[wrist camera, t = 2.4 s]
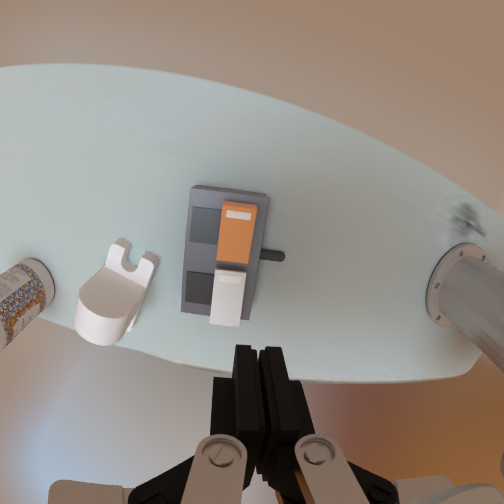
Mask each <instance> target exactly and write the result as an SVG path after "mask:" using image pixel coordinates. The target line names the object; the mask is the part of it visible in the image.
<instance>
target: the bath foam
mask: <svg viewBox="0 0 504 504" xmlns="http://www.w3.org/2000/svg"><path fill="white" fill-rule="evenodd" d="M53 297H54V284H53V281H52V278H51V276H50V274H49V272H48V270H47V269H46V268H45V267H44V266H43V265H42V264H41V263H40V262H39V261H37V260H34V259H26V260H24V261H22V262H20V263H19V264H17V265H15V266H14V267H12V268H10V269H9V270H7V271H6V272H4V273H2V274H1V275H0V351H2V350H3V349H4V348H5V347H6V346H7V345H8V344H9V343H10V342H11V341H12V340H13V339H14V338H15V337H16V336H17V335H18V334H19V333H20V332H21V331H22V330H23V329H24V328H25V327H26V326H27V325H28V324H29V323H30V322H31V321H32V320H33V319H34V318H35V317H36V316H37V315H38V314H40V313H41V312H42V311H43V310H44V309H45V308H46V307H47V306H48V305H49V304H50V303H51V301H52V300H53Z"/></svg>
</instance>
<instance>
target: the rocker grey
mask: <svg viewBox="0 0 504 504" xmlns="http://www.w3.org/2000/svg"><path fill="white" fill-rule="evenodd" d="M245 280H246V271H238V270H230V269H222V268H216V269H215V276H214V285H213V294H212V303H211V313H210V323H209V324H215V325H223V326H232V327H239V325H240V317H241V310H242V302H243V295H244V287H245Z"/></svg>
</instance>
